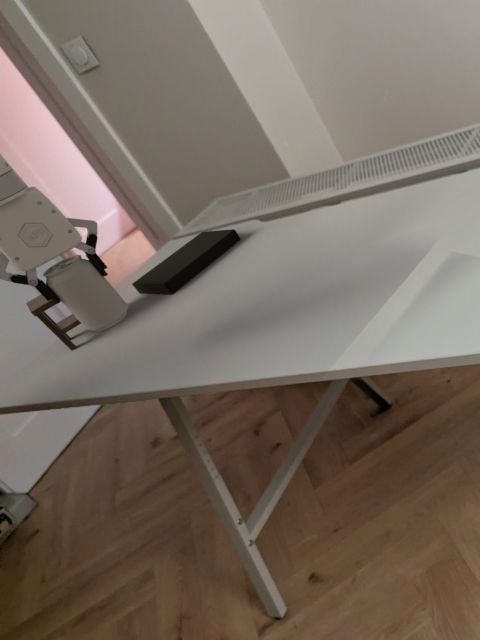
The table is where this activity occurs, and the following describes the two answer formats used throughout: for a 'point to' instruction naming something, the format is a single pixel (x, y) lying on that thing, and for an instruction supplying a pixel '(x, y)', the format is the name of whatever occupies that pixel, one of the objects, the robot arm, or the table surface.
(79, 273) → the can
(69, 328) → the stand
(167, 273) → the external hard drive
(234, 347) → the table surface
